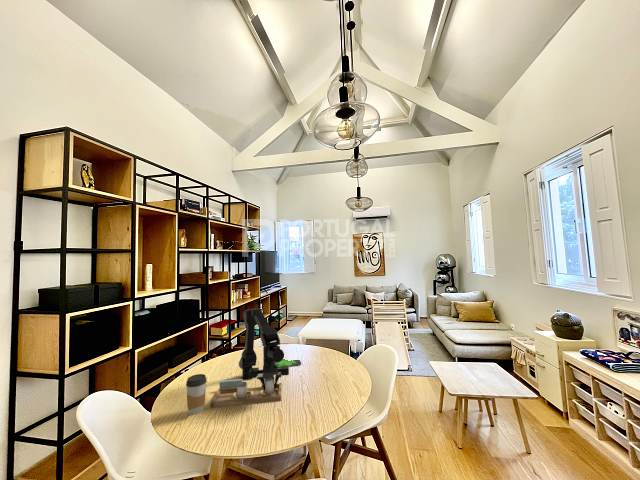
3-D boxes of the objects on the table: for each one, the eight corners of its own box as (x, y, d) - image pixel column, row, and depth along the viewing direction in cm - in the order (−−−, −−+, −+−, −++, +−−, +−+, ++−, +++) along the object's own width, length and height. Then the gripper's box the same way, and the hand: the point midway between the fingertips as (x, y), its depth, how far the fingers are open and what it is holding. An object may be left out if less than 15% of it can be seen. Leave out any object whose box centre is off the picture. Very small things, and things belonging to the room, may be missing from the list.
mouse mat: (266, 355, 187) (266, 354, 187) (296, 352, 192) (296, 351, 192) (266, 370, 161) (266, 368, 161) (302, 366, 165) (302, 364, 166)
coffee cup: (210, 410, 116) (210, 375, 117) (193, 420, 109) (193, 383, 110) (198, 406, 120) (199, 372, 122) (181, 415, 113) (182, 379, 114)
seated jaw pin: (238, 396, 125) (238, 382, 126) (247, 395, 126) (247, 381, 127) (236, 401, 121) (236, 386, 122) (246, 400, 122) (246, 385, 122)
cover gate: (220, 389, 133) (220, 380, 134) (242, 387, 135) (242, 378, 135) (219, 391, 131) (219, 382, 131) (242, 389, 132) (242, 380, 133)
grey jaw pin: (265, 390, 127) (265, 376, 128) (274, 389, 128) (274, 375, 129) (264, 394, 123) (264, 380, 124) (274, 393, 124) (274, 379, 124)
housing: (220, 393, 132) (220, 381, 133) (281, 387, 136) (281, 376, 137) (211, 410, 116) (211, 397, 117) (280, 403, 120) (280, 390, 121)
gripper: (247, 364, 118) (247, 400, 116) (288, 360, 120) (289, 396, 119) (250, 355, 129) (250, 388, 127) (288, 352, 131) (289, 385, 130)
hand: (269, 389), depth 126 cm, fingers closed on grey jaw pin, 4 cm apart
